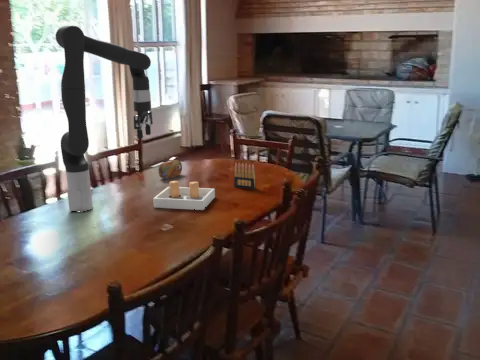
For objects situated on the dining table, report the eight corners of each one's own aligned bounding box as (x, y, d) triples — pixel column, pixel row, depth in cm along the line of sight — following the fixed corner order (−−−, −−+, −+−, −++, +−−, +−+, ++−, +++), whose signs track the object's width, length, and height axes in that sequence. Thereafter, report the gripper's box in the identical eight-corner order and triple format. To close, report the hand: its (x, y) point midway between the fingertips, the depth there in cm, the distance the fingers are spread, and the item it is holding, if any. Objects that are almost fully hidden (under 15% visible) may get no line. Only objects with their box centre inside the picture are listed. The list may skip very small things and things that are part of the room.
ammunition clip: (256, 188, 255) (255, 163, 252) (254, 189, 254) (253, 164, 251) (235, 185, 260) (235, 161, 257) (234, 186, 258) (233, 162, 255)
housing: (203, 210, 226) (202, 189, 224) (153, 207, 231) (152, 187, 229) (214, 197, 243) (214, 177, 241) (168, 195, 248) (167, 176, 246)
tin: (162, 180, 272) (161, 164, 270) (157, 180, 274) (156, 163, 272) (182, 174, 283) (182, 158, 281) (178, 173, 285) (177, 157, 283)
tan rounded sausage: (177, 201, 236) (176, 183, 234) (169, 200, 237) (168, 183, 234) (180, 198, 239) (179, 180, 237) (172, 198, 240) (171, 180, 238)
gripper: (141, 98, 246) (143, 133, 250) (126, 101, 233) (129, 139, 237) (156, 98, 244) (158, 133, 248) (143, 102, 231) (145, 139, 235)
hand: (144, 136), depth 243 cm, fingers open, 8 cm apart
